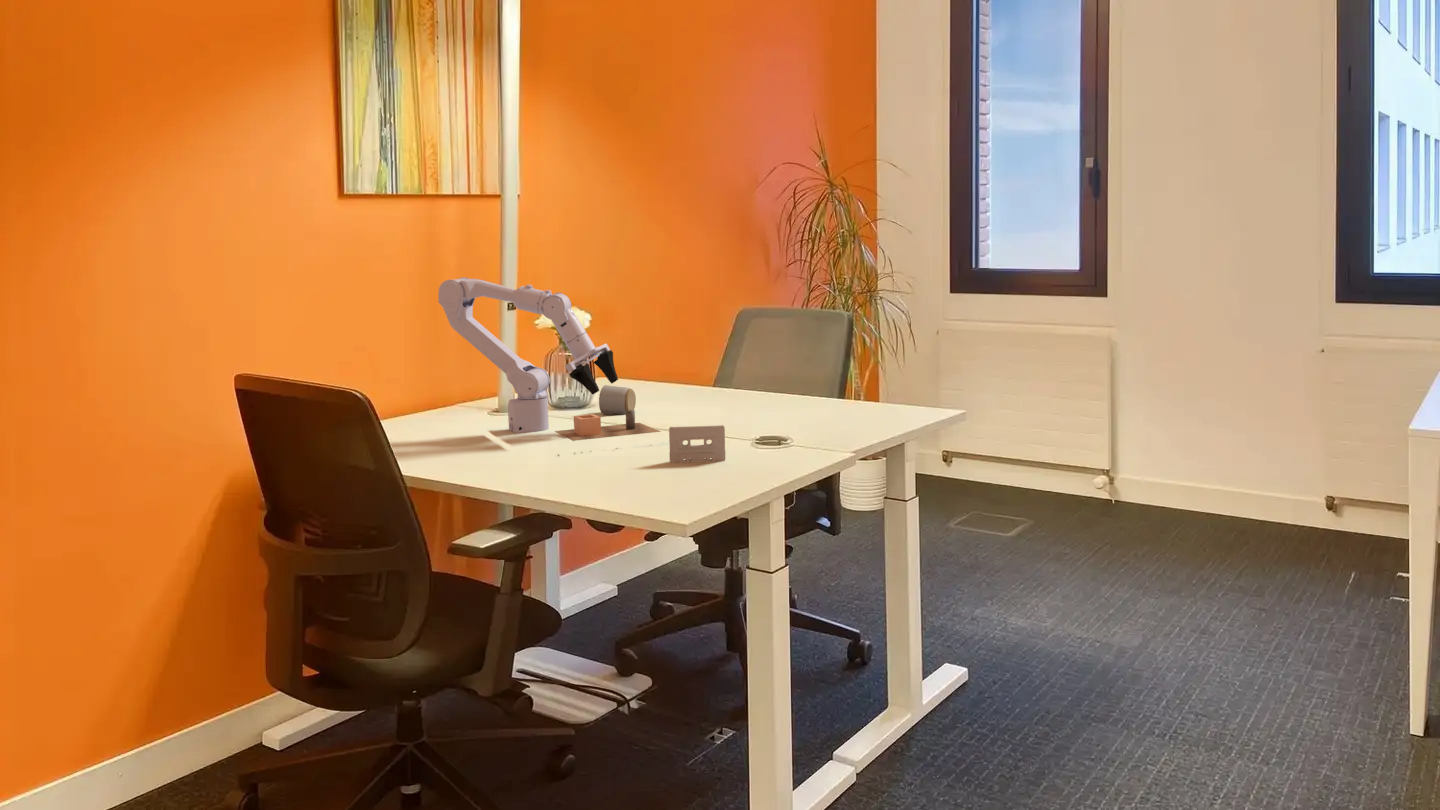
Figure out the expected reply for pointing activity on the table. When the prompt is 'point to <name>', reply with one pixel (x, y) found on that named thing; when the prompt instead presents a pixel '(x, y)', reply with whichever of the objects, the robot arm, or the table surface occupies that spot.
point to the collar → (587, 425)
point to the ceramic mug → (616, 400)
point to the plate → (613, 429)
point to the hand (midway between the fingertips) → (605, 387)
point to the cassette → (697, 451)
